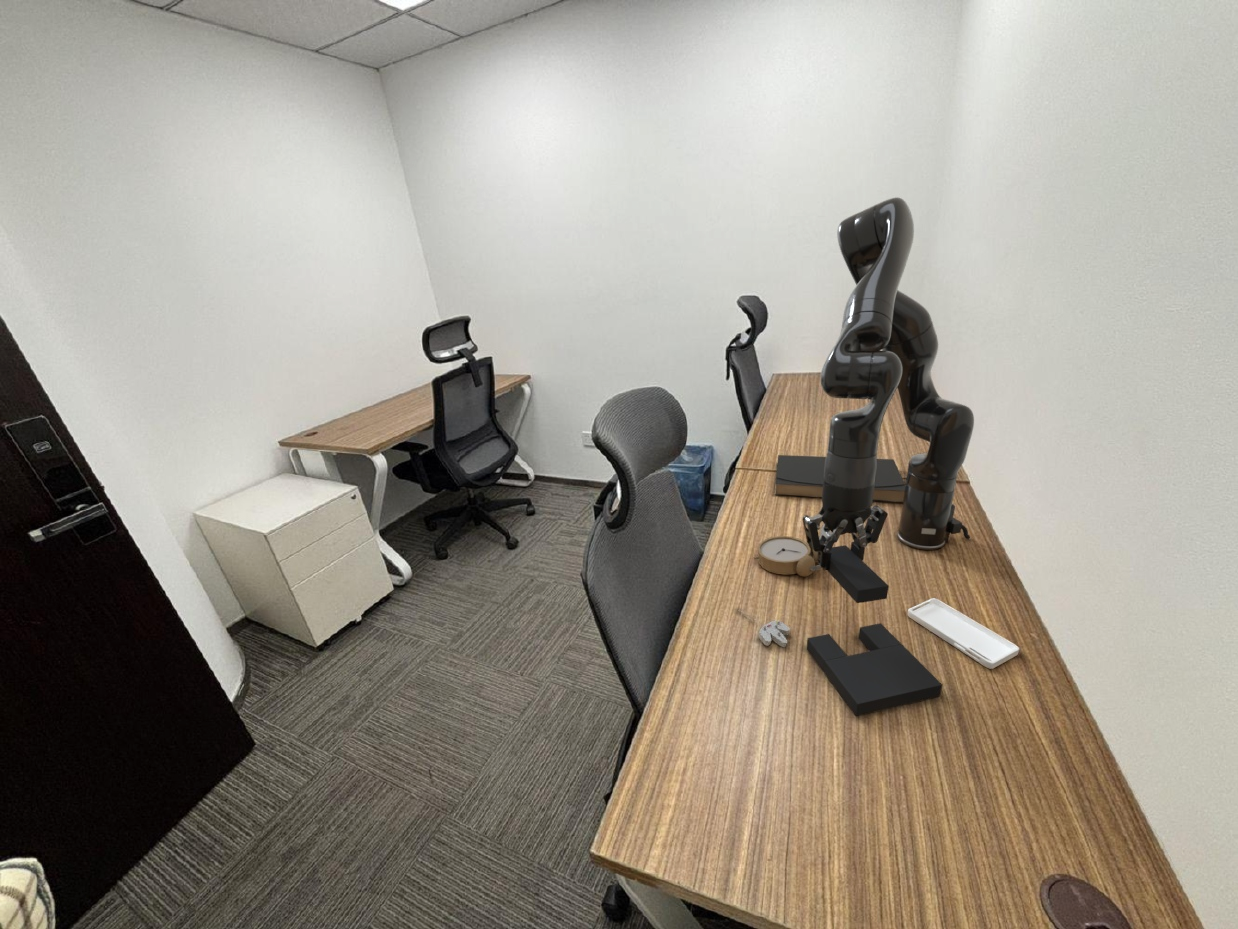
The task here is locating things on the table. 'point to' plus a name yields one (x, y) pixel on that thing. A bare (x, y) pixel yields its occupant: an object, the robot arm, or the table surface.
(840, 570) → the pad strip
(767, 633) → the game controller
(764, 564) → the alarm clock
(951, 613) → the phone case
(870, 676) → the notched pad
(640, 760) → the table surface
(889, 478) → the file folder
